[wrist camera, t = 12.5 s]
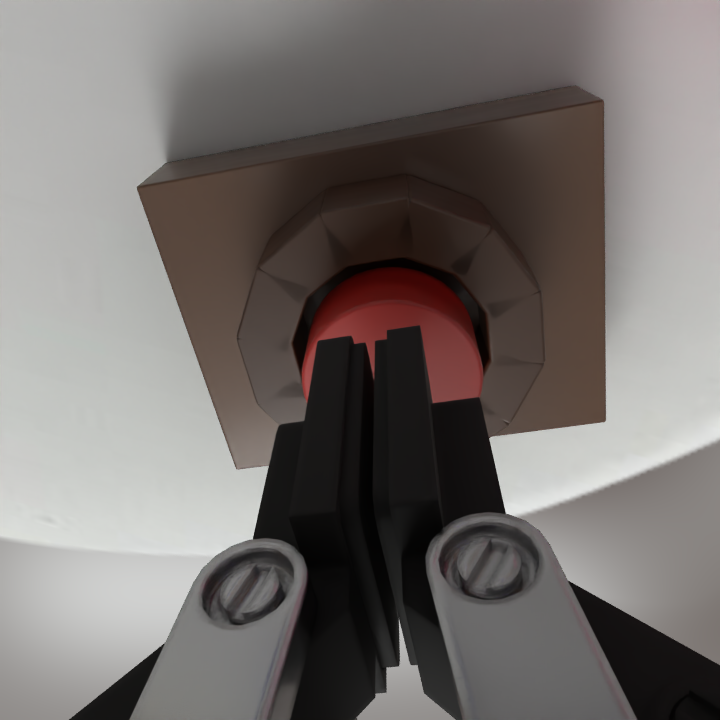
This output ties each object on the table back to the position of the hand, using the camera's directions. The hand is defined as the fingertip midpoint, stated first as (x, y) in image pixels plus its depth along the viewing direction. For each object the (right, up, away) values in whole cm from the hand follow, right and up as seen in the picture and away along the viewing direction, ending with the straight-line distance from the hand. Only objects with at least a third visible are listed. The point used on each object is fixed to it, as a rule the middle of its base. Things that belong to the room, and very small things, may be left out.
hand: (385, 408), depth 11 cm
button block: (0, +3, +7) cm, 7 cm away
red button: (0, +1, +4) cm, 4 cm away
